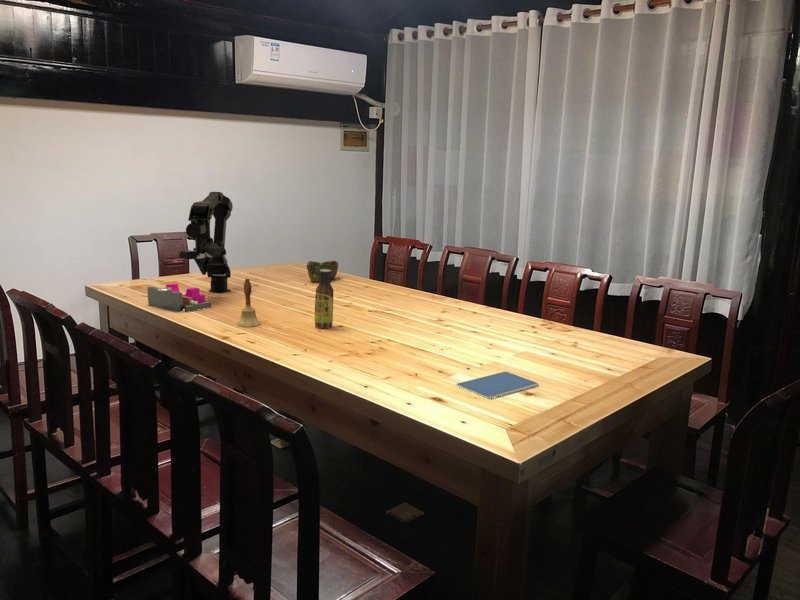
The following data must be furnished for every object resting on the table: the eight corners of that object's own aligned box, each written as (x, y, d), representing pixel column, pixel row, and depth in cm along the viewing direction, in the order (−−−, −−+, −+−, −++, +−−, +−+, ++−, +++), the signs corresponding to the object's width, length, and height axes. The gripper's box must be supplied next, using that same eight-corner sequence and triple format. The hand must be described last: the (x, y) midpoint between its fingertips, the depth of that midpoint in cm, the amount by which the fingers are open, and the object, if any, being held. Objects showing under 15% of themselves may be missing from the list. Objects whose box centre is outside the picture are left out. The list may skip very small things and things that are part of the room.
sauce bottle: (311, 327, 223) (311, 270, 218) (320, 323, 228) (320, 267, 224) (327, 330, 220) (328, 272, 216) (336, 326, 226) (336, 269, 222)
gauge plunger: (164, 300, 254) (164, 290, 253) (198, 308, 243) (197, 297, 242) (161, 301, 252) (160, 290, 252) (195, 308, 241) (194, 297, 241)
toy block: (205, 306, 250) (204, 287, 248) (192, 309, 245) (191, 289, 243) (180, 300, 258) (179, 282, 257) (166, 303, 253) (166, 284, 251)
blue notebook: (487, 402, 160) (488, 397, 159) (453, 387, 169) (453, 382, 169) (540, 388, 171) (540, 383, 171) (505, 375, 181) (505, 370, 181)
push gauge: (174, 298, 260) (173, 280, 259) (211, 307, 248) (210, 287, 247) (141, 305, 248) (140, 285, 247) (178, 313, 236) (177, 293, 235)
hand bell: (236, 327, 220) (235, 281, 217) (236, 321, 228) (235, 277, 224) (261, 326, 222) (261, 280, 219) (260, 321, 230) (259, 276, 227)
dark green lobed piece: (296, 279, 309) (296, 258, 307) (334, 277, 320) (334, 256, 318) (308, 284, 299) (308, 262, 297) (346, 281, 310) (347, 260, 307)
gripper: (196, 238, 242) (198, 280, 245) (235, 235, 257) (236, 274, 260) (177, 236, 248) (179, 276, 251) (216, 232, 263) (217, 271, 266)
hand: (203, 274), depth 257 cm, fingers closed
